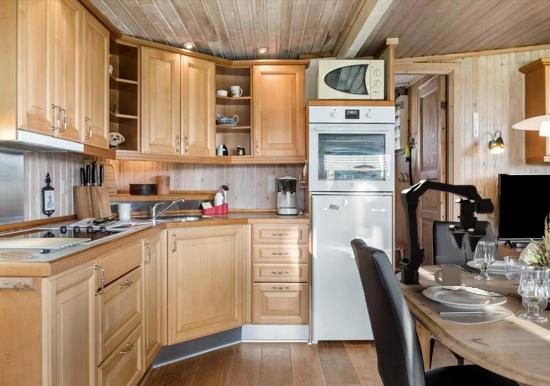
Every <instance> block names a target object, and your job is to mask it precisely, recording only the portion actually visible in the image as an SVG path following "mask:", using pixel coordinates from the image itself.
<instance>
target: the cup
mask: <svg viewBox="0 0 550 386" xmlns="http://www.w3.org/2000/svg"><path fill="white" fill-rule="evenodd" d="M440 273H441V280H440V278H439V275H440ZM433 278H434V281H435V283H436V284H437V285H439V286H441V287H442V286H461V287H462V266H461V265H456V264H441V267H439V268H437V269H436V270H435V271H434V277H433Z"/></svg>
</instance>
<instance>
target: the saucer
mask: <svg viewBox="0 0 550 386" xmlns="http://www.w3.org/2000/svg"><path fill="white" fill-rule="evenodd" d="M465 287H472V288H478V289H481V290H484V291H488V292H494V293H497V294H500V295H503V296H502V297H505V296H508V295H509V290H508V289H506V288H504V287H500V286H496V285H487V284H469V285H465Z"/></svg>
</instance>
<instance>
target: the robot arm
mask: <svg viewBox="0 0 550 386" xmlns="http://www.w3.org/2000/svg"><path fill="white" fill-rule="evenodd" d="M427 191H435V192H441V193H447V194H448V193H449V194H452V195H454V196H456V197H458V199H456V200H455V201H454V203H455V204H459V215H457V219H459V224H450V225H449V226H448V232H449V233H450V234H451V236H452V237H453V239H454V241H455V243H456V246H457V248H458V249H460V250H462V248H463V243H464V242H463V241H464V236H465V235H466V234H468V235H467V240H468V243H469V247H470V251H471V253H475V251H476V250H477V249H476V248H477V246H478V245H479V244H478V243H479V241H480V240H481V239H483V238H485V237H486V236H487V228H488V225H489V224H488V223H485V222H483V221H480V220H479V219H478V217H477V216H475V213H476V214H477V215H492V214H493V213H494V211H495V206H494V202H493V201H492V198H483V197H482V196H481V194H480V193H479V192H478V189H477V187H476V185H474V184H452V183H451V184H450V183H445V182H438V181H432V180H429V179H421V180H420V181H419V182H417V183H416V184H415V185H412V186H411V187H410V188H408V189H404V190H402V191H401V193H400V196H399V197H400V203H401V205H402V207H403V209H404V210H403V211H404V214H405V216H404V217H405V227H406V239H407V240H406V241H407V242H406V243H407V244H406V246H405V249H404V250H405V252H404V256H403V257H402V259H401V260H399V266H400V279H399V280H398V281H399V282H400V283H401V284H405V285H420V284H421V283H420V272H419V269H420V268H421V265H422V264H423V263H424V259H425V258H426V256H425V248H423V247H421V246H420V243H419V231H418V230H419V229H418V216H417V210H418V206H419V202H420V198H421V196H423V195H424V194H425V193H426V192H427Z"/></svg>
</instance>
